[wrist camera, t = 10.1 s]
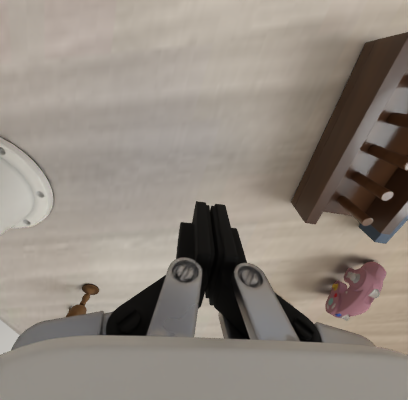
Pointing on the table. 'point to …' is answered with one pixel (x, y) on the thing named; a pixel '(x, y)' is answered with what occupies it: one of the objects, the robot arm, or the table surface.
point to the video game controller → (356, 291)
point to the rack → (364, 144)
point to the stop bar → (378, 236)
